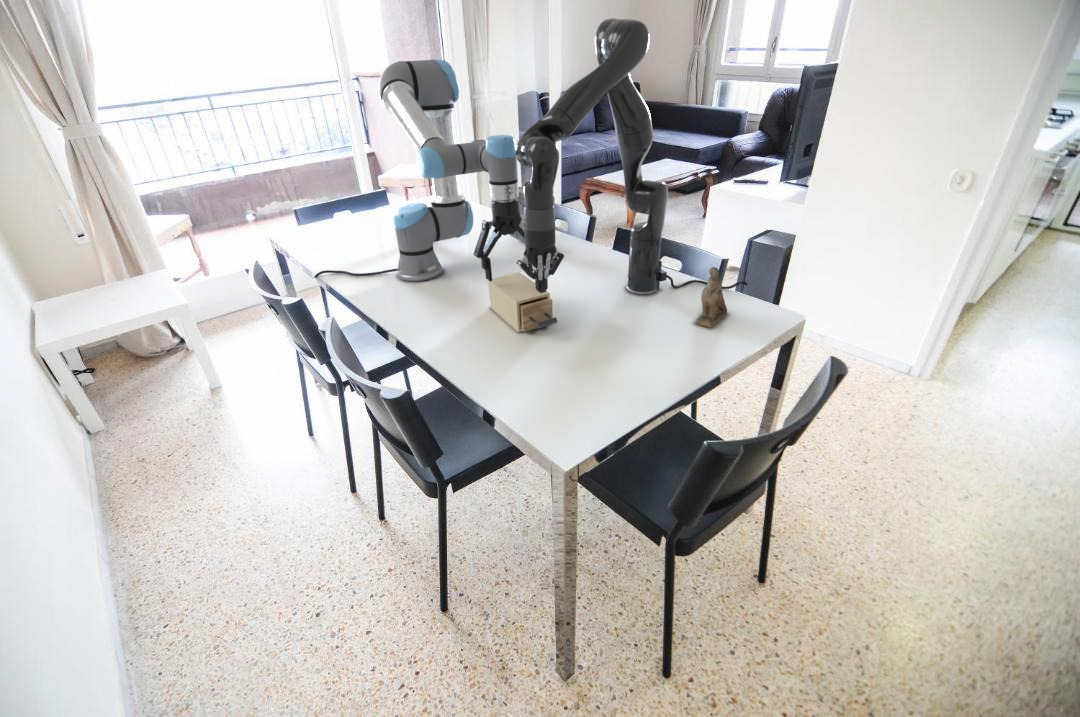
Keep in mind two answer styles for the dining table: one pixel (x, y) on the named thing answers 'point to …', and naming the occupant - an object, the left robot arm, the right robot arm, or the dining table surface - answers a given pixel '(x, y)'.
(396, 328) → the dining table surface
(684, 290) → the dining table surface
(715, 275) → the brown carved statuette
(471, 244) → the dining table surface
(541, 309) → the drawer
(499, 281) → the cabinet
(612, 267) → the dining table surface
